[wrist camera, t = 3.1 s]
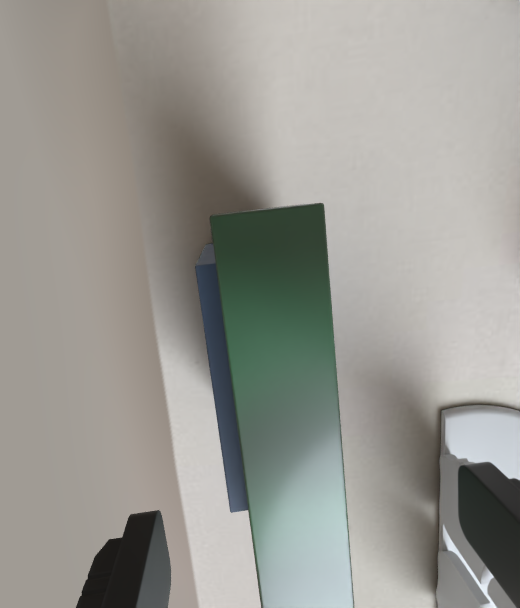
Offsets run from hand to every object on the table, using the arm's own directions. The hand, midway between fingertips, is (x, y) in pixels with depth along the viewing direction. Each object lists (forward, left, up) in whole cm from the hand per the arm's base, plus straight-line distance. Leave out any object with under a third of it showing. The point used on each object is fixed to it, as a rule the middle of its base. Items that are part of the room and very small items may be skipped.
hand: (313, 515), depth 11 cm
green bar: (0, 0, -8) cm, 8 cm away
